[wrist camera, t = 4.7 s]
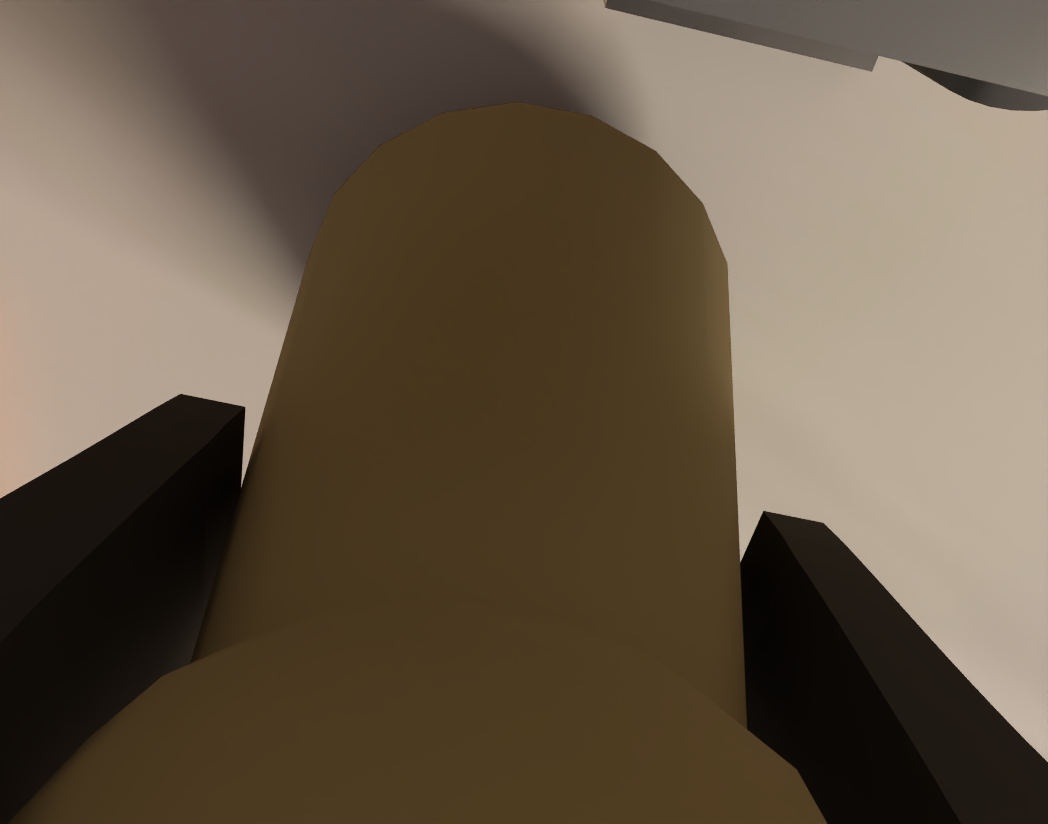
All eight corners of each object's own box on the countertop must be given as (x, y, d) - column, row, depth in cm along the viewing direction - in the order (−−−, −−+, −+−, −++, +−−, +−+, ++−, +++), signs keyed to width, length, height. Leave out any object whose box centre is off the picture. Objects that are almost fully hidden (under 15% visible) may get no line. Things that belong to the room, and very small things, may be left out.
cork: (217, 269, 13) (-806, 1471, 3) (574, -3, 10) (584, 1159, 1) (476, 544, 15) (320, 1670, 6) (806, 369, 13) (1403, 1689, 4)
